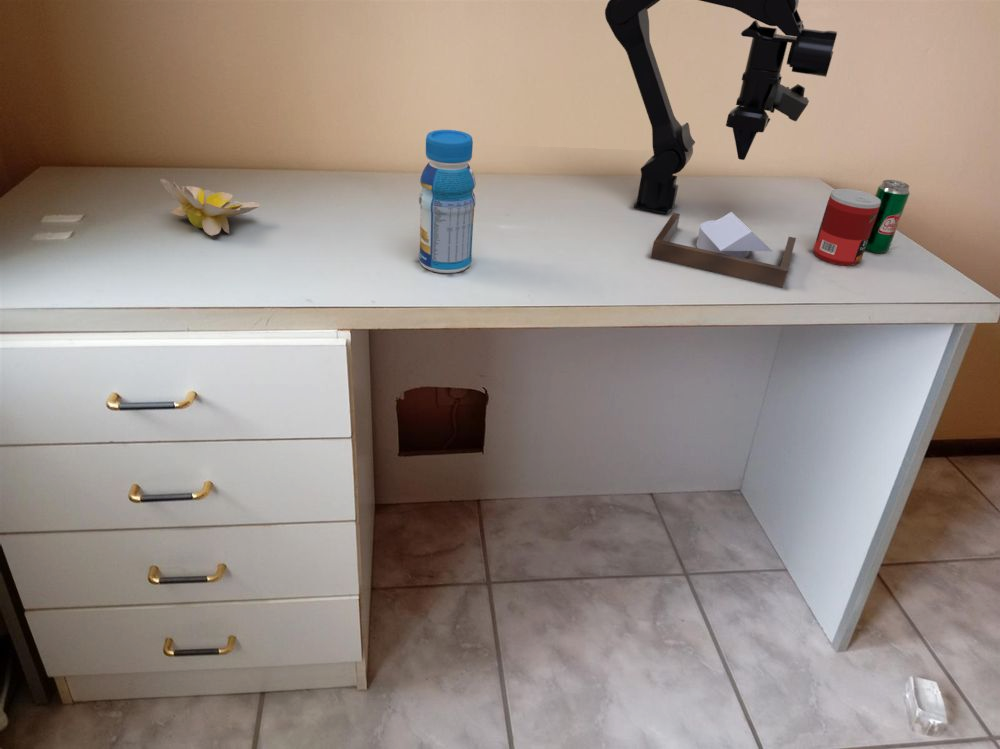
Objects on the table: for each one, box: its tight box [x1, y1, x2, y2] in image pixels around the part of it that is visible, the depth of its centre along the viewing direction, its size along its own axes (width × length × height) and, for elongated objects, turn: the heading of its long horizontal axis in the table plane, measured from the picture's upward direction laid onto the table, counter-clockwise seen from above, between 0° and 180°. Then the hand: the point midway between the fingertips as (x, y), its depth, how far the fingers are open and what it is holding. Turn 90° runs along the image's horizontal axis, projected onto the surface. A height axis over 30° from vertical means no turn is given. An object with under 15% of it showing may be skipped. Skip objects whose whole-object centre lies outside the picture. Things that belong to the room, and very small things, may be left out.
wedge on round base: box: [695, 211, 773, 259], centre depth 132 cm, size 9×7×13 cm
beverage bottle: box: [418, 129, 477, 274], centre depth 117 cm, size 8×8×20 cm
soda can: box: [864, 179, 910, 254], centre depth 137 cm, size 5×5×12 cm
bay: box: [650, 212, 797, 288], centre depth 132 cm, size 21×15×3 cm
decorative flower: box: [159, 178, 261, 236], centre depth 126 cm, size 15×11×10 cm
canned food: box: [813, 188, 881, 267], centre depth 132 cm, size 8×8×11 cm
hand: (741, 159), depth 139 cm, fingers closed
